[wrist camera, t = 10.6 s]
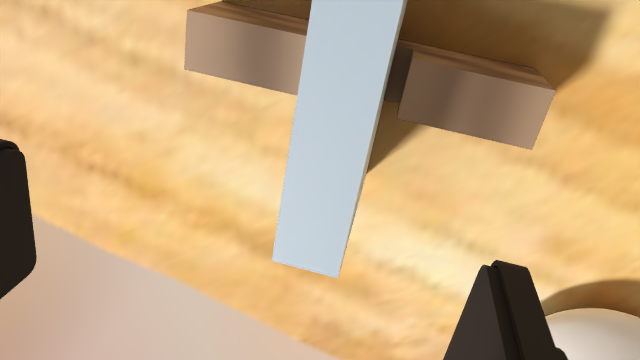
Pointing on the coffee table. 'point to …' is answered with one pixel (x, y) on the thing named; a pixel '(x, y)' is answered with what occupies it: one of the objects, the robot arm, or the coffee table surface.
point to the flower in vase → (596, 334)
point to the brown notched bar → (404, 80)
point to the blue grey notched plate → (334, 128)
